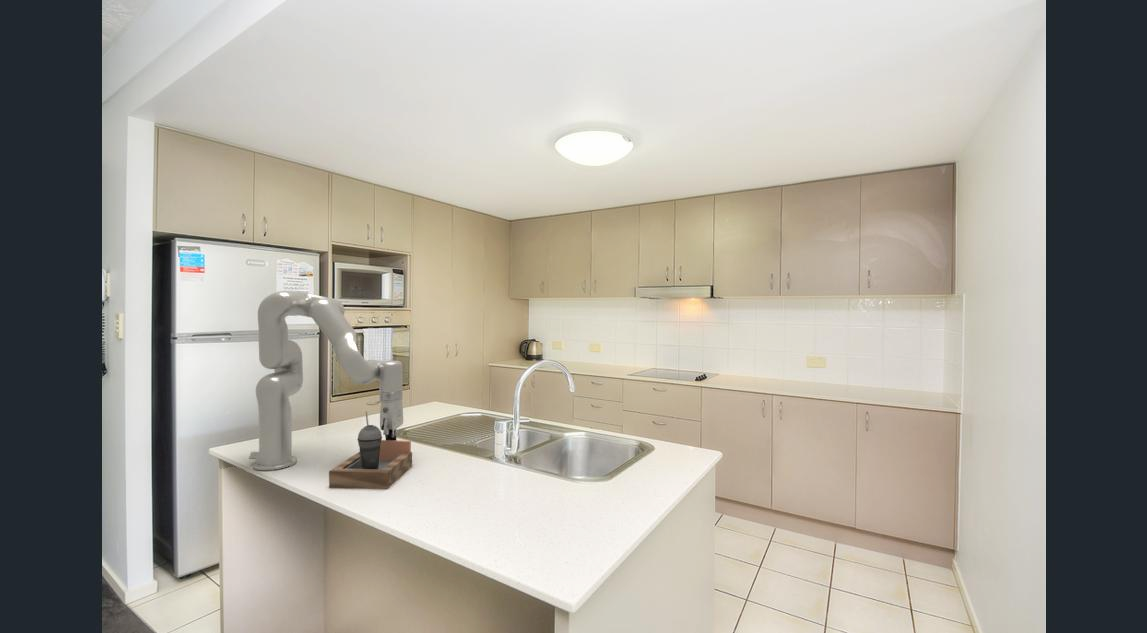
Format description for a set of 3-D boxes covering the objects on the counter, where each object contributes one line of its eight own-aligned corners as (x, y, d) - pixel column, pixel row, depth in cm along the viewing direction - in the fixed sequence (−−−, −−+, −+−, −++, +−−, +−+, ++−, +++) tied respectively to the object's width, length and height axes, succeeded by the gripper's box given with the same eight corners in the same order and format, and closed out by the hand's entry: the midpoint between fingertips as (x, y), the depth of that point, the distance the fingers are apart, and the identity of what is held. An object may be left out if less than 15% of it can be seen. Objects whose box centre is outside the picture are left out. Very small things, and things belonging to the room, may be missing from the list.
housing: (361, 465, 163) (361, 450, 163) (412, 466, 163) (412, 451, 163) (329, 487, 143) (329, 471, 143) (387, 489, 143) (387, 472, 143)
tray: (366, 462, 165) (366, 439, 165) (411, 463, 164) (411, 440, 164) (336, 482, 146) (336, 457, 146) (388, 483, 145) (388, 458, 145)
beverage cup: (376, 478, 147) (376, 414, 147) (353, 478, 147) (352, 414, 147) (385, 470, 154) (386, 409, 154) (363, 469, 154) (363, 408, 154)
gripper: (393, 400, 159) (393, 454, 159) (409, 392, 174) (409, 441, 174) (371, 400, 159) (371, 454, 159) (388, 392, 174) (388, 441, 174)
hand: (391, 447), depth 167 cm, fingers closed
